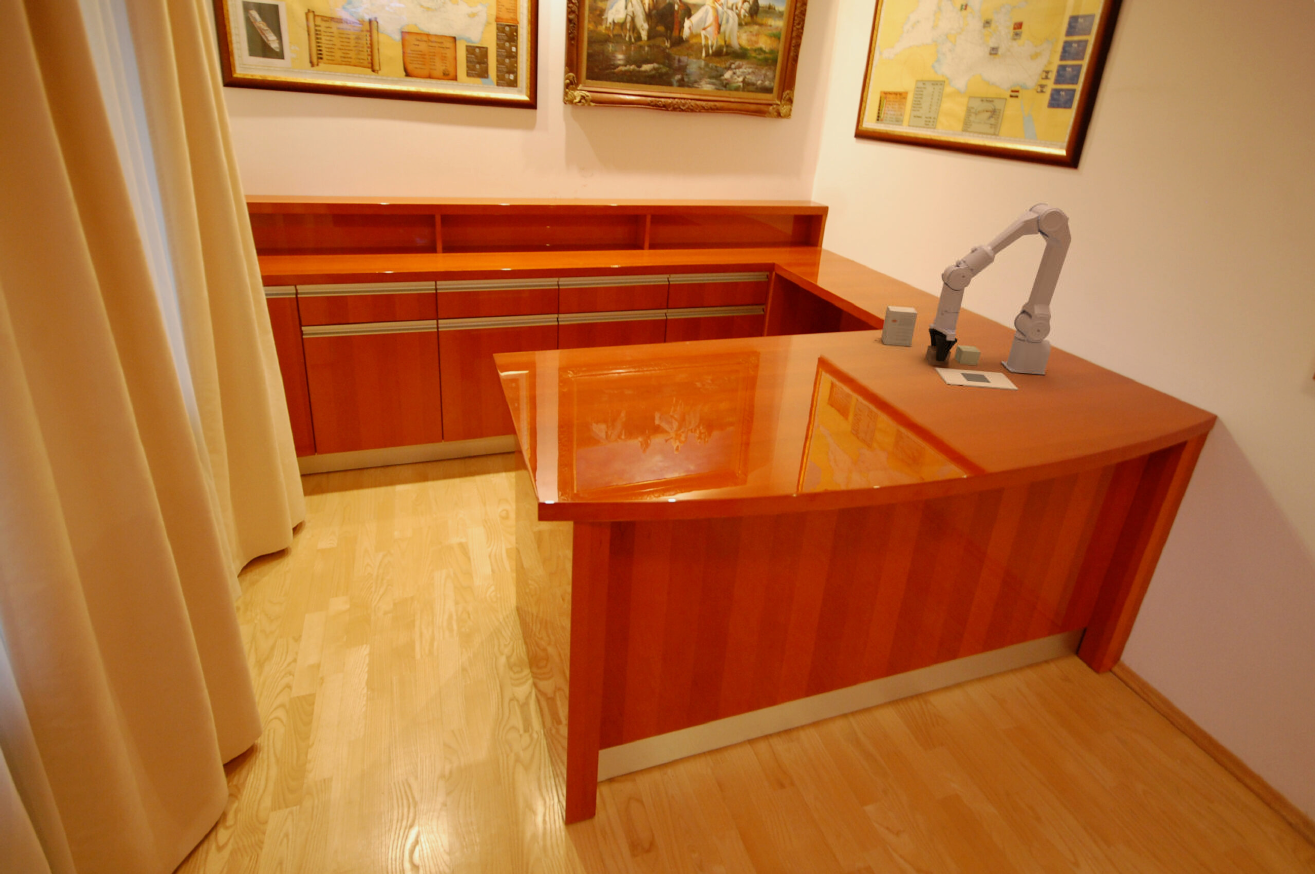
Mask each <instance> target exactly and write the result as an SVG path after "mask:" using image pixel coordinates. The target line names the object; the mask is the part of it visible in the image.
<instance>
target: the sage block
mask: <svg viewBox="0 0 1315 874" xmlns="http://www.w3.org/2000/svg"><path fill="white" fill-rule="evenodd" d="M981 352H982V351H980V350H979V349H978V348H977V347H976V346H972V345H961V344H957V345H956V349H955V353H954V357H953V359H955V360H956V362H957V363H958V364H959V365H969V366H971V365H972V366H978V365H979V361H980V358H981V357H980V356H981Z"/></svg>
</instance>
